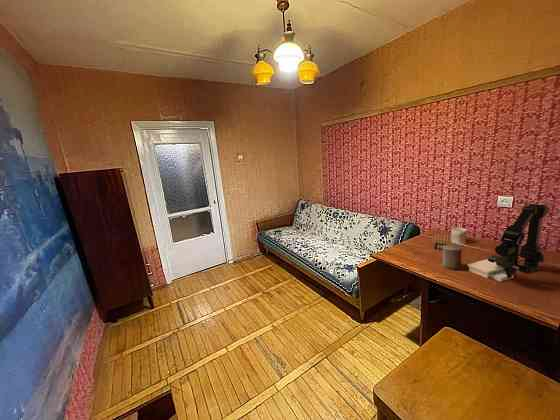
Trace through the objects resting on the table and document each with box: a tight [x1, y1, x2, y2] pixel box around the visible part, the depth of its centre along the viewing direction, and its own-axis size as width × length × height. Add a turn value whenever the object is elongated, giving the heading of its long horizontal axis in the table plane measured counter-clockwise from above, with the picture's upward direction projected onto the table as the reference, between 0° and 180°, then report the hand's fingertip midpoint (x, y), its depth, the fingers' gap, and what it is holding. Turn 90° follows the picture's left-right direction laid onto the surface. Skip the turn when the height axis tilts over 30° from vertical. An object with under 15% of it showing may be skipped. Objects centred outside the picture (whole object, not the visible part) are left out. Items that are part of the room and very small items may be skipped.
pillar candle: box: [442, 244, 463, 271], centre depth 146 cm, size 10×10×15 cm
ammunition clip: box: [433, 234, 453, 251], centre depth 173 cm, size 11×2×12 cm, turn 55°
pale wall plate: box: [489, 270, 515, 283], centre depth 134 cm, size 10×14×2 cm
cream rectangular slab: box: [467, 258, 505, 279], centre depth 137 cm, size 17×11×4 cm, turn 105°
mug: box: [450, 227, 468, 245], centre depth 184 cm, size 10×12×11 cm
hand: (509, 278), depth 127 cm, fingers closed
